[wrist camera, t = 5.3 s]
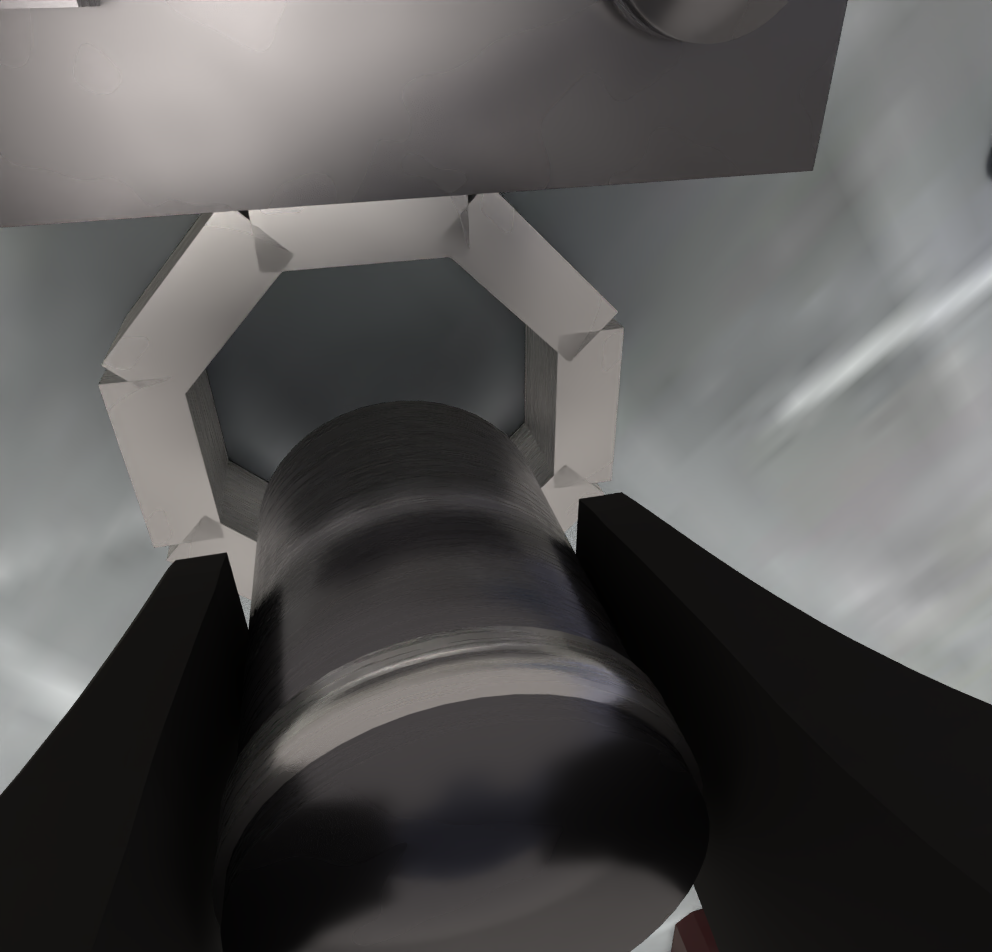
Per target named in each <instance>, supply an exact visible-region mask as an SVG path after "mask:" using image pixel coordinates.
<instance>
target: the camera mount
mask: <svg viewBox="0 0 992 952" xmlns="http://www.w3.org/2000/svg"><path fill="white" fill-rule="evenodd" d="M847 1H848V0H0V227H15V226H29V225H43V224H58V223H72V222H86V221H100V220H115V219H129V218H143V217H158V216H172V215H186V214H201V213H202V214H201V215H200V216H199V218H198V219H197V220H196V222H195V223H194V224H193V226H192V227H191V229H190V230H189V231H188V233H187V234H186V235H185V237H184V238H183V239H182V241H181V242H180V243H179V245H178V246H177V248H176V249H175V250H174V252H173V253H172V254H171V256H170V257H169V258H168V260H167V261H166V263H165V264H164V265H163V267H162V268H161V269H160V271H159V272H158V273H157V275H156V276H155V278H154V279H153V280H152V282H151V283H150V284H149V286H148V287H147V288H146V290H145V291H144V292H143V294H142V295H141V297H140V298H139V299H138V301H137V302H136V303H135V305H134V306H133V307H132V309H131V310H130V312H129V313H128V314H127V316H126V318H125V320H124V322H123V324H122V326H121V328H120V329H119V331H118V333H117V335H116V337H115V339H114V341H113V343H112V345H111V347H110V349H109V351H108V353H107V355H106V357H105V358H104V360H103V362H102V364H101V366H103V367H104V368H106V370H105V372H104V374H103V376H102V378H101V380H100V382H99V384H98V386H99V389H100V392H101V395H102V397H103V400H104V403H105V406H106V409H107V412H108V415H109V418H110V421H111V424H112V427H113V430H114V432H115V435H116V438H117V441H118V444H119V447H120V450H121V453H122V456H123V459H124V462H125V464H126V467H127V470H128V473H129V476H130V479H131V482H132V485H133V488H134V491H135V494H136V497H137V499H138V502H139V505H140V508H141V511H142V514H143V517H144V520H145V523H146V526H147V529H148V531H149V534H150V537H151V540H152V543H153V546H154V548H156V547H163V546H169V550H168V554H167V559H166V560H167V561H169V562H171V563H173V562H174V561H175V560H179V559H186V558H192V557H199V556H206V555H212V554H219V553H225V552H227V554H228V558H229V562H230V565H231V569H232V572H233V576H234V580H235V583H236V587H237V591H238V594H240V595H242V596H244V597H246V598H248V599H250V600H251V598H252V587H253V576H254V566H255V555H256V544H257V533H258V523H259V513H260V507H261V503H262V500H263V496H264V493H265V490H266V488H267V486H268V484H269V483H268V482H266V481H264V480H263V479H261V478H259V477H257V476H256V475H254V474H252V473H250V472H249V471H247V470H245V469H243V468H242V467H240V466H238V465H236V464H234V463H233V462H231V461H229V459H228V455H227V451H226V447H225V443H224V439H223V435H222V431H221V427H220V423H219V419H218V415H217V411H216V407H215V403H214V399H213V395H212V391H211V387H210V383H209V379H208V375H207V371H206V367H207V366H208V364H209V363H210V362H211V361H212V359H213V358H214V357H215V356H216V354H217V353H218V352H219V351H220V349H221V348H222V347H223V345H224V344H225V343H226V342H227V340H228V339H229V338H230V337H231V335H232V334H233V333H234V332H235V330H236V329H237V328H238V326H239V325H240V324H241V323H242V321H243V320H244V319H245V318H246V316H247V315H248V314H249V313H250V311H251V310H252V309H253V308H254V306H255V305H256V304H257V302H258V301H259V300H260V299H261V297H262V296H263V295H264V294H265V292H266V291H267V290H268V289H269V287H270V286H271V285H272V284H273V282H274V281H275V280H276V278H277V277H278V276H279V275H280V273H281V272H282V271H293V270H305V269H317V268H328V267H340V266H352V265H364V264H375V263H387V262H399V261H411V260H422V259H434V258H446V257H451V258H452V259H453V260H454V261H455V262H456V263H457V264H458V265H460V266H461V267H462V268H463V269H464V270H465V271H466V272H467V273H469V274H470V275H471V276H472V277H473V278H474V279H475V280H477V281H478V282H479V283H480V284H481V285H482V286H483V287H484V288H486V289H487V290H488V291H489V292H490V293H491V294H492V295H494V296H495V297H496V298H497V299H498V300H499V301H500V302H501V303H503V304H504V305H505V306H506V307H507V308H508V309H509V310H510V311H512V312H513V313H514V314H515V315H516V316H517V317H518V318H520V319H521V320H522V321H523V322H524V323H525V422H524V423H523V424H522V425H521V426H520V427H519V428H518V429H517V431H516V432H515V433H514V434H513V435H512V436H511V437H510V438H509V439H510V440H511V441H512V442H513V443H514V444H515V445H516V446H517V448H518V449H519V450H520V452H521V453H522V455H523V456H524V458H525V459H526V461H527V463H528V465H529V467H530V469H531V470H532V472H533V474H534V476H535V478H536V480H537V482H538V484H539V486H540V488H541V489H542V491H543V493H544V495H545V497H546V499H547V501H548V503H549V505H550V507H551V508H552V510H553V512H554V514H555V516H556V518H557V520H558V522H559V524H560V526H561V527H562V529H563V531H564V532H565V531H566V530H568V529H569V528H570V527H571V526H572V525H573V524H574V523H575V522H576V521H577V520H578V505H579V499H581V498H588V497H594V496H601V495H604V493H603V491H602V490H601V488H600V487H599V485H598V482H605V481H611V480H612V468H613V455H614V443H615V431H616V419H617V407H618V395H619V383H620V370H621V358H622V346H623V334H624V328H623V327H622V326H621V325H620V324H619V323H618V322H617V321H616V320H615V319H614V318H613V317H614V316H615V315H616V314H617V313H618V311H617V310H616V309H615V308H614V307H613V306H612V305H611V304H610V303H609V302H608V301H607V300H606V299H605V298H604V297H603V296H602V295H601V294H600V293H599V292H598V291H597V290H596V289H595V288H594V287H593V286H592V285H591V284H590V283H589V282H588V281H587V280H586V279H584V278H583V277H582V276H581V275H580V274H579V273H578V272H577V271H576V270H575V269H574V268H573V267H572V266H571V265H570V264H569V263H568V262H567V261H566V260H565V259H564V258H563V257H562V256H561V255H560V254H559V253H558V252H557V251H556V250H555V249H554V248H553V247H552V246H551V245H550V244H549V243H548V242H547V241H546V240H545V239H544V238H543V237H542V236H541V235H540V234H539V233H538V232H537V231H536V230H535V229H534V228H533V227H532V226H531V225H530V224H529V223H528V222H527V221H526V220H525V219H524V218H523V217H522V216H521V215H520V214H519V213H518V212H517V211H516V210H515V209H514V208H513V207H512V206H511V205H510V204H509V203H508V202H507V201H506V200H505V199H504V198H503V197H502V196H501V195H500V194H499V193H501V192H515V191H529V190H544V189H558V188H572V187H587V186H601V185H615V184H629V183H644V182H658V181H672V180H687V179H701V178H715V177H730V176H744V175H758V174H772V173H787V172H801V171H813V167H814V163H815V158H816V153H817V148H818V143H819V138H820V133H821V128H822V124H823V119H824V114H825V109H826V104H827V99H828V94H829V89H830V84H831V80H832V75H833V70H834V65H835V60H836V55H837V50H838V45H839V40H840V36H841V31H842V26H843V21H844V16H845V11H846V6H847Z"/></svg>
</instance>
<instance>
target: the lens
mask: <svg viewBox="0 0 992 952" xmlns="http://www.w3.org/2000/svg"><path fill="white" fill-rule="evenodd" d="M709 829H710V820H709V816H708V811H707V807H706V803H705V801H704V798H703V796H702V780H701V776H700V771H699V766H698V764H697V762H696V760H695V758H694V756H693V754H692V751H691V749H690V747H689V746H688V744H687V742H686V740H685V738H684V736H683V735H682V733H681V731H680V729H679V727H678V725H677V723H676V722H675V720H674V718H673V716H672V714H671V712H670V711H669V709H668V707H667V705H666V703H665V701H664V700H663V698H662V696H661V694H660V692H659V691H658V690H657V688H656V687H655V686H654V684H653V683H652V682H651V680H650V679H649V678H648V676H647V675H646V674H645V673H643V672H642V671H641V670H640V669H639V668H638V667H637V666H636V665H635V664H634V663H633V662H632V661H631V659H630V657H629V655H628V653H627V651H626V649H625V647H624V645H623V643H622V642H621V640H620V638H619V636H618V634H617V632H616V630H615V628H614V626H613V624H612V623H611V621H610V619H609V617H608V615H607V613H606V611H605V609H604V607H603V605H602V604H601V602H600V600H599V598H598V596H597V594H596V592H595V590H594V588H593V586H592V585H591V583H590V581H589V579H588V577H587V575H586V573H585V571H584V569H583V567H582V566H581V564H580V562H579V560H578V558H577V556H576V554H575V552H574V550H573V548H572V546H571V545H570V543H569V541H568V539H567V537H566V535H565V533H564V531H563V529H562V527H561V526H560V524H559V522H558V520H557V518H556V516H555V514H554V512H553V510H552V508H551V507H550V505H549V503H548V501H547V499H546V497H545V495H544V493H543V491H542V489H541V488H540V486H539V484H538V482H537V480H536V478H535V476H534V474H533V472H532V470H531V469H530V467H529V465H528V463H527V461H526V459H525V458H524V456H523V455H522V453H521V452H520V450H519V449H518V448H517V446H516V445H515V444H514V443H513V442H512V441H511V440H510V439H509V438H508V437H507V436H506V435H505V434H504V433H503V432H502V431H500V430H499V429H498V428H496V427H495V426H494V425H492V424H491V423H489V422H488V421H486V420H484V419H482V418H480V417H479V416H477V415H475V414H472V413H470V412H467V411H465V410H462V409H460V408H456V407H453V406H449V405H445V404H441V403H433V402H426V401H395V402H386V403H379V404H375V405H371V406H367V407H362V408H359V409H356V410H354V411H351V412H348V413H346V414H343V415H341V416H339V417H337V418H335V419H333V420H331V421H329V422H327V423H325V424H323V425H322V426H320V427H319V428H317V429H316V430H314V431H313V432H311V433H310V434H309V435H307V436H306V437H305V438H304V439H303V440H302V441H300V442H299V443H298V444H297V445H296V446H295V447H294V448H293V449H292V450H291V451H290V452H289V453H288V455H287V456H286V457H285V458H284V459H283V460H282V462H281V463H280V464H279V466H278V468H277V469H276V471H275V472H274V474H273V475H272V477H271V479H270V481H269V484H268V486H267V488H266V490H265V493H264V496H263V500H262V503H261V507H260V513H259V523H258V533H257V544H256V555H255V566H254V576H253V587H252V598H251V609H250V620H249V630H248V641H247V652H246V663H245V673H244V684H243V695H242V706H241V717H240V727H239V738H238V749H237V760H236V763H235V764H234V766H233V768H232V770H231V772H230V774H229V776H228V779H227V783H226V786H225V789H224V793H223V796H222V800H221V809H220V818H219V828H218V837H217V846H216V856H215V865H214V875H213V885H212V899H213V906H214V913H215V916H216V919H217V921H218V924H219V926H220V929H221V932H220V935H221V942H222V949H223V952H630V951H631V950H633V949H634V948H635V947H637V946H638V945H639V944H641V943H642V942H643V941H644V940H645V939H646V938H648V937H649V936H650V935H651V934H652V933H653V932H654V931H655V930H656V929H658V928H659V927H660V926H661V925H662V924H663V923H664V921H665V920H666V919H667V918H668V917H669V916H670V915H671V914H672V913H673V912H674V911H675V910H676V908H677V907H678V906H679V904H680V903H681V902H682V900H683V899H684V898H685V896H686V895H687V894H688V892H689V890H690V889H691V887H692V885H693V883H694V882H695V880H696V878H697V876H698V875H699V872H700V870H701V867H702V865H703V862H704V859H705V857H706V852H707V848H708V843H709Z"/></svg>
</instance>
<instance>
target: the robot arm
mask: <svg viewBox="0 0 992 952" xmlns="http://www.w3.org/2000/svg"><path fill="white" fill-rule="evenodd" d="M576 556H577V558H578V560H579V562H580V564H581V566H582V567H583V569H584V571H585V573H586V575H587V577H588V579H589V581H590V583H591V585H592V586H593V588H594V590H595V592H596V594H597V596H598V598H599V600H600V602H601V604H602V605H603V607H604V609H605V611H606V613H607V615H608V617H609V619H610V621H611V623H612V624H613V626H614V628H615V630H616V632H617V634H618V636H619V638H620V640H621V642H622V643H623V645H624V647H625V649H626V651H627V653H628V655H629V657H630V659H631V661H632V662H633V663H634V664H635V665H636V666H637V667H638V668H639V669H640V670H641V671H642V672H643V673H645V674H646V675H647V676H648V678H649V679H650V680H651V682H652V683H653V684H654V686H655V687H656V688H657V690H658V691H659V692H660V694H661V696H662V698H663V700H664V701H665V703H666V705H667V707H668V709H669V711H670V712H671V714H672V716H673V718H674V720H675V722H676V723H677V725H678V727H679V729H680V731H681V733H682V735H683V736H684V738H685V740H686V742H687V744H688V746H689V747H690V749H691V751H692V754H693V756H694V758H695V760H696V762H697V764H698V766H699V771H700V776H701V780H702V796H703V798H704V801H705V803H706V807H707V811H708V816H709V820H710V829H709V843H708V848H707V852H706V857H705V859H704V862H703V865H702V867H701V870H700V872H699V875H698V876H697V878H696V880H695V882H694V883H693V884H694V887H695V889H696V892H697V895H698V897H699V900H700V902H701V905H702V908H703V910H704V913H705V915H706V918H707V921H708V923H709V926H710V928H711V931H712V934H713V936H714V939H715V942H716V945H717V947H718V950H719V952H992V705H991V704H988V703H986V702H984V701H981V700H979V699H977V698H974V697H972V696H970V695H967V694H965V693H963V692H960V691H958V690H956V689H953V688H951V687H949V686H946V685H944V684H942V683H940V682H938V681H936V680H933V679H931V678H929V677H927V676H925V675H923V674H920V673H918V672H916V671H914V670H912V669H910V668H908V667H906V666H904V665H902V664H900V663H898V662H896V661H894V660H892V659H890V658H888V657H886V656H884V655H882V654H880V653H878V652H876V651H874V650H872V649H870V648H868V647H866V646H864V645H862V644H860V643H858V642H856V641H854V640H852V639H850V638H849V637H847V636H845V635H843V634H841V633H839V632H838V631H836V630H834V629H832V628H830V627H828V626H827V625H825V624H823V623H821V622H820V621H818V620H816V619H814V618H813V617H811V616H809V615H808V614H806V613H804V612H803V611H801V610H799V609H797V608H796V607H794V606H792V605H791V604H789V603H787V602H786V601H784V600H782V599H781V598H779V597H777V596H775V595H774V594H772V593H771V592H769V591H768V590H766V589H764V588H763V587H761V586H760V585H758V584H756V583H755V582H753V581H752V580H750V579H748V578H747V577H745V576H744V575H742V574H741V573H739V572H738V571H736V570H735V569H733V568H732V567H730V566H729V565H727V564H726V563H724V562H723V561H721V560H720V559H718V558H717V557H715V556H714V555H712V554H711V553H709V552H708V551H706V550H705V549H703V548H702V547H700V546H699V545H697V544H696V543H695V542H693V541H692V540H690V539H689V538H687V537H686V536H685V535H683V534H682V533H680V532H679V531H677V530H676V529H675V528H673V527H672V526H670V525H669V524H667V523H666V522H665V521H663V520H662V519H660V518H659V517H657V516H656V515H655V514H653V513H652V512H650V511H649V510H647V509H646V508H644V507H643V506H642V505H640V504H639V503H637V502H636V501H634V500H633V499H631V498H630V497H628V496H627V495H625V494H623V493H622V492H621V493H614V494H608V495H601V496H594V497H588V498H581V499H579V505H578V524H577V542H576ZM247 641H248V627H247V623H246V620H245V616H244V612H243V609H242V605H241V602H240V598H239V594H238V591H237V587H236V583H235V580H234V576H233V572H232V569H231V565H230V562H229V558H228V554H227V552H225V553H219V554H212V555H206V556H199V557H192V558H186V559H179V560H175V561H174V562H173V563H172V565H171V566H170V567H169V568H168V569H167V571H166V572H165V574H164V575H163V577H162V578H161V580H160V581H159V583H158V584H157V586H156V587H155V589H154V590H153V592H152V593H151V595H150V597H149V598H148V600H147V601H146V603H145V604H144V606H143V607H142V609H141V610H140V612H139V613H138V615H137V616H136V618H135V619H134V621H133V622H132V623H131V625H130V626H129V628H128V629H127V631H126V632H125V634H124V635H123V637H122V638H121V640H120V641H119V642H118V644H117V645H116V647H115V648H114V650H113V651H112V652H111V654H110V655H109V657H108V658H107V659H106V661H105V662H104V663H103V665H102V666H101V668H100V669H99V670H98V672H97V673H96V675H95V676H94V677H93V679H92V680H91V681H90V683H89V684H88V686H87V687H86V688H85V690H84V691H83V693H82V694H81V695H80V697H79V698H78V699H77V701H76V702H75V703H74V705H73V706H72V707H71V709H70V710H69V711H68V712H67V714H66V715H65V716H64V717H63V719H62V720H61V721H60V722H59V724H58V725H57V726H56V727H55V729H54V730H53V731H52V733H51V734H50V735H49V736H48V738H47V739H46V740H45V741H44V743H43V744H42V745H41V746H40V748H39V749H38V750H37V751H36V753H35V754H34V755H33V756H32V758H31V759H30V760H29V761H28V763H27V764H26V765H25V766H24V768H23V769H22V770H21V771H20V773H19V774H18V775H17V776H16V777H15V779H14V780H13V781H12V782H11V783H10V784H9V786H8V787H7V788H6V789H5V790H4V791H3V793H2V794H1V795H0V952H223V949H222V942H221V935H220V932H221V929H220V926H219V924H218V921H217V919H216V916H215V913H214V906H213V899H212V885H213V875H214V865H215V856H216V846H217V837H218V828H219V818H220V809H221V800H222V796H223V793H224V789H225V786H226V783H227V779H228V776H229V774H230V772H231V770H232V768H233V766H234V764H235V763H236V760H237V749H238V738H239V727H240V717H241V706H242V695H243V684H244V673H245V663H246V652H247Z"/></svg>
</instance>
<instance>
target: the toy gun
mask: <svg viewBox="0 0 992 952" xmlns="http://www.w3.org/2000/svg"><path fill="white" fill-rule="evenodd" d="M671 952H719V950H718V947H717V945H716V942H715V939H714V936H713V934H712V931H711V928H710V926H709V923H708V921H707V918H706V915H705V913H704V910H703V909H700V910H696V911H693V912H691V913H690V914H689V915H687V916H686V917H685V918H683V919H682V920H681V921H679V922H678V923H677V924H676V925H675V931H674V936H673V942H672V948H671Z"/></svg>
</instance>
